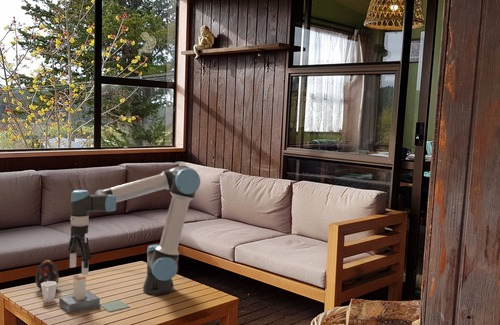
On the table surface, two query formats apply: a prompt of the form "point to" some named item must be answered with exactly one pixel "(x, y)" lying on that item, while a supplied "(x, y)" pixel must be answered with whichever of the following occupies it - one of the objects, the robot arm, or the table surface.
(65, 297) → the grey square holder
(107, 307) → the mat
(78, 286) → the plug
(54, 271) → the egg
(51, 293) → the cup
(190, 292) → the table surface
